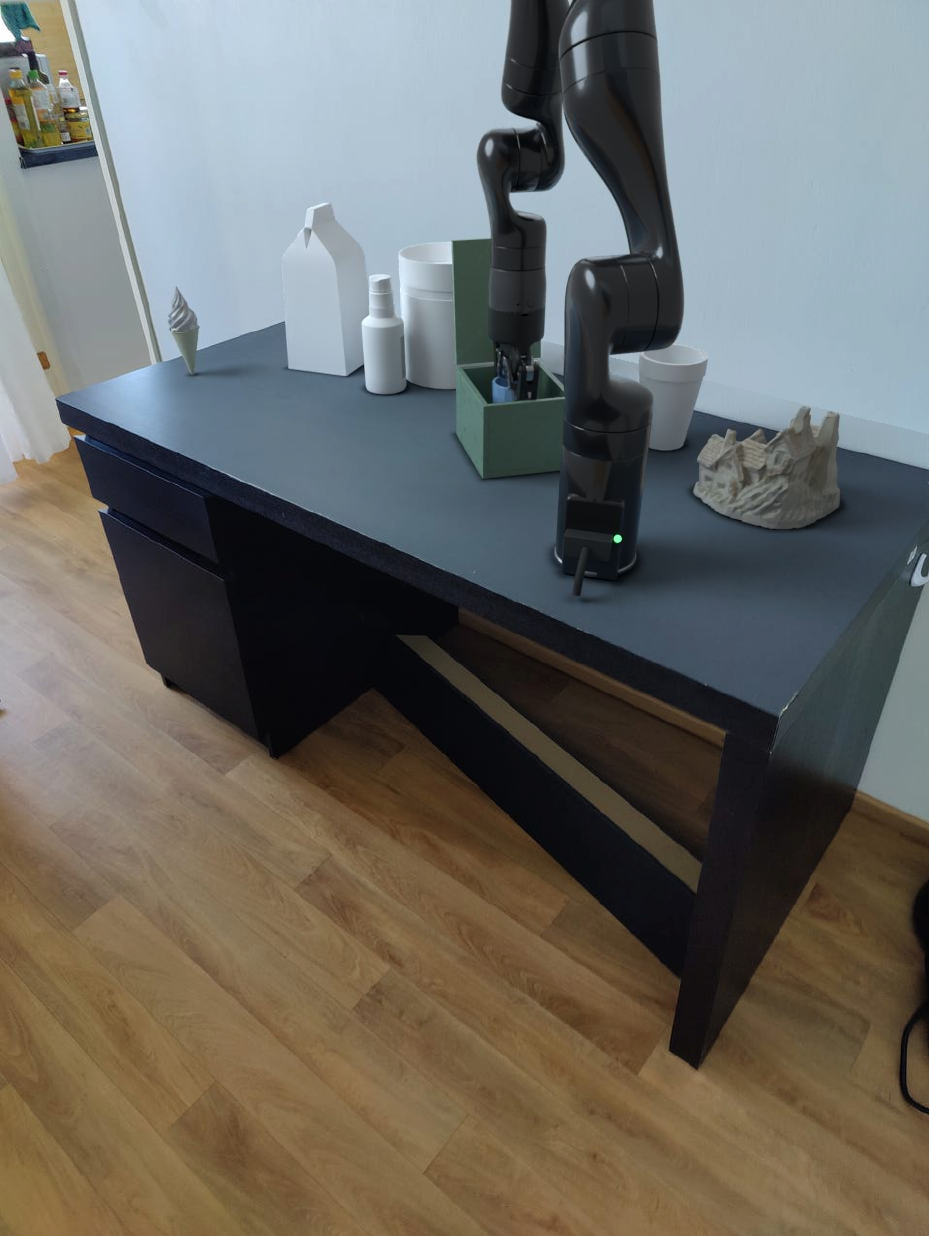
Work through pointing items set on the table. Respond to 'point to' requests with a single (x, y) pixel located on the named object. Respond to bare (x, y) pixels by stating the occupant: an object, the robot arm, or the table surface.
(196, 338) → the ice cream cone
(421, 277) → the canister
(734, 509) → the ceramic cottage
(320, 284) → the milk
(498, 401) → the cup
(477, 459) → the green box
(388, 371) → the spray bottle
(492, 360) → the lid
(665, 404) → the foam cup
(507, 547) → the table surface
